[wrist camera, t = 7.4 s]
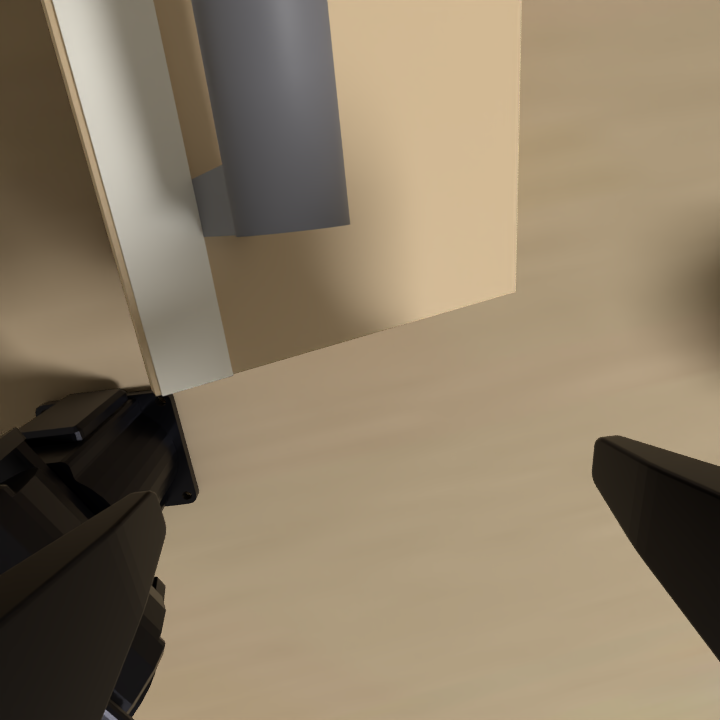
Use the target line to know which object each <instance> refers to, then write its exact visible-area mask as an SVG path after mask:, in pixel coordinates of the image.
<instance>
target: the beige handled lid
mask: <svg viewBox="0 0 720 720" xmlns="http://www.w3.org/2000/svg"><path fill="white" fill-rule="evenodd" d="M41 3H42V7H43V10H44V14H45V17H46V21H47V24H48V28H49V31H50V35H51V38H52V42H53V46H54V49H55V53H56V56H57V60H58V63H59V67H60V70H61V74H62V77H63V81H64V84H65V88H66V91H67V95H68V98H69V102H70V105H71V109H72V112H73V116H74V119H75V123H76V126H77V130H78V133H79V137H80V140H81V144H82V147H83V151H84V154H85V158H86V161H87V165H88V168H89V172H90V175H91V179H92V182H93V186H94V189H95V193H96V196H97V200H98V203H99V207H100V210H101V214H102V217H103V221H104V224H105V228H106V231H107V235H108V238H109V242H110V245H111V249H112V252H113V256H114V259H115V263H116V266H117V270H118V273H119V277H120V280H121V284H122V287H123V291H124V294H125V298H126V301H127V305H128V308H129V312H130V315H131V319H132V322H133V326H134V329H135V333H136V336H137V340H138V343H139V347H140V350H141V354H142V357H143V361H144V364H145V368H146V371H147V375H148V378H149V382H150V385H151V389H152V391H153V392H154V394H155V395H156V396H159V395H162V396H166V395H169V394H172V393H176V392H179V391H183V390H186V389H189V388H193V387H196V386H200V385H203V384H206V383H210V382H213V381H217V380H220V379H224V378H227V377H230V376H233V374H235V373H239V372H242V371H245V370H249V369H252V368H256V367H259V366H263V365H266V364H269V363H273V362H276V361H280V360H283V359H287V358H290V357H294V356H297V355H300V354H304V353H307V352H311V351H314V350H318V349H321V348H324V347H328V346H331V345H335V344H338V343H342V342H345V341H349V340H352V339H355V338H359V337H362V336H366V335H369V334H373V333H376V332H379V331H383V330H386V329H390V328H393V327H397V326H400V325H404V324H407V323H410V322H414V321H417V320H421V319H424V318H428V317H431V316H434V315H438V314H441V313H445V312H448V311H452V310H455V309H459V308H462V307H465V306H469V305H472V304H476V303H479V302H483V301H486V300H489V299H493V298H496V297H500V296H503V295H507V294H510V293H514V292H516V253H517V206H518V158H519V111H520V64H521V17H522V0H41Z"/></svg>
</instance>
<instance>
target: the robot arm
mask: <svg viewBox="0 0 720 720" xmlns="http://www.w3.org/2000/svg"><path fill="white" fill-rule="evenodd" d="M158 397H163V398H164V399H165V400H166V403H162V402H160V401H159V399H158ZM35 413H36V418H34V419H33V420H31V421H30V422H28V423H27V424H25V425H24V426H22V427H21V428H19V429H17V428H16V427H15V428H13V429H11V430H10V431H8V432H6V433H4V434H3V435H1V436H0V720H134V719H133V718H132V716H133V715H134V713H135V712H136V710H137V709H138V707H139V706H140V704H141V703H142V701H143V699H144V697H145V695H146V693H147V691H148V690H149V688H150V685H151V683H152V680H153V677H154V675H155V671H156V669H157V666H158V664H159V662H160V660H161V658H162V655H163V652H164V647H165V641H164V640H163V639H162V638H161V637H160V635H161V632H162V627H163V622H164V617H165V612H166V609H165V605H164V595H165V585H164V584H163V582H162V581H161V580H160V579H159V578H158V577H154V575H155V571H156V568H157V564H158V561H159V557H160V554H161V550H162V547H163V543H164V539H165V535H166V524H165V520H164V517H163V514H162V510H163V508H164V507H165V506H173V505H181V504H189V503H193V502H194V501H195V500H196V498H197V496H198V494H199V489H198V485H197V482H196V478H195V474H194V471H193V467H192V463H191V459H190V456H189V452H188V448H187V444H186V441H185V437H184V433H183V430H182V426H181V422H180V418H179V415H178V411H177V407H176V403H175V400H174V396H173V394H169V395H166V396H162V395H159V396H156V395H155V394H154V392H153V391H152V390H147V391H138V392H130V393H126V391H124V390H122V389H112V390H103V391H94V392H85V393H77V394H70V395H68V396H67V397H65V398H64V399H62V400H60V401H51V402H46V403H44V404H42V405H41V406H39V407H38V408H37V409H36V412H35ZM592 477H593V481H594V483H595V485H596V487H597V488H598V490H599V492H600V493H601V495H602V497H603V498H604V500H605V501H606V503H607V505H608V506H609V508H610V510H611V511H612V513H613V514H614V516H615V518H616V519H617V521H618V523H619V524H620V526H621V528H622V529H623V531H624V532H625V534H626V536H627V537H628V539H629V540H630V542H631V543H632V545H633V546H634V548H635V550H636V551H637V552H638V554H639V555H640V556H641V558H642V559H643V561H644V562H645V563H646V565H647V566H648V567H649V569H650V570H651V571H652V573H653V574H654V575H655V577H656V578H657V579H658V581H659V582H660V583H661V585H662V586H663V587H664V588H665V590H666V591H667V592H668V594H669V595H670V596H671V598H672V599H673V600H674V602H675V603H676V604H677V606H678V607H679V608H680V610H681V611H682V612H683V614H684V615H685V616H686V618H687V619H688V620H689V622H690V623H691V624H692V626H693V627H694V628H695V630H696V631H697V632H698V634H699V635H700V636H701V637H702V639H703V640H704V641H705V643H706V644H707V645H708V647H709V648H710V649H711V651H712V652H713V653H714V655H715V656H716V657H717V659H718V660H719V661H720V466H717V465H713V464H710V463H707V462H704V461H700V460H697V459H694V458H691V457H687V456H684V455H681V454H678V453H674V452H671V451H668V450H665V449H661V448H658V447H655V446H652V445H648V444H645V443H642V442H639V441H635V440H632V439H629V438H626V437H622V436H618V435H614V436H606V437H600V438H598V439H597V440H596V442H595V445H594V455H593V465H592ZM185 492H190V493H191V495H187V494H186V493H185Z"/></svg>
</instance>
